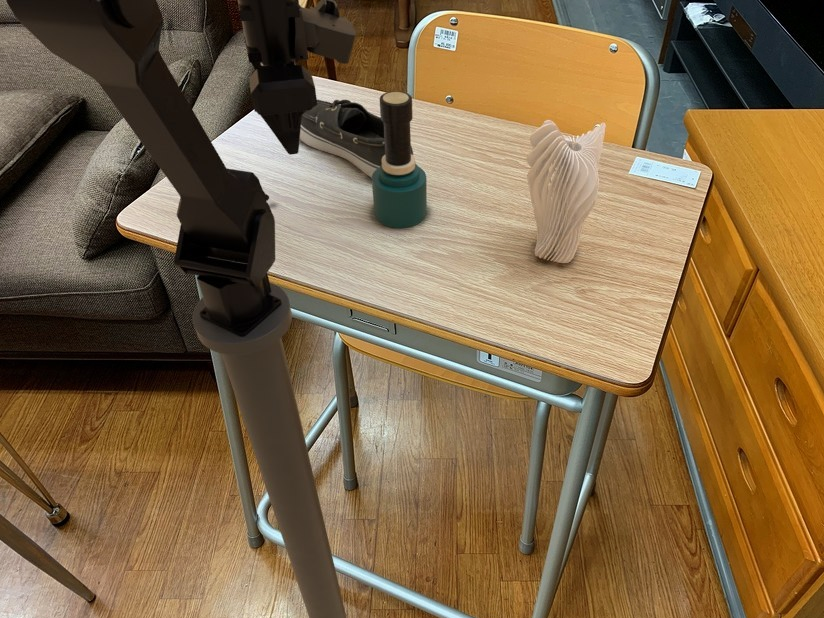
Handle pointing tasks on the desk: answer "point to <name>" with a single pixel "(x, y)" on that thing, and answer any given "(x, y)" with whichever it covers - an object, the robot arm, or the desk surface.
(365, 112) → the boat shoe
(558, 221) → the beige finned vase
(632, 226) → the desk surface
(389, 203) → the bottle
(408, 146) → the flashlight
